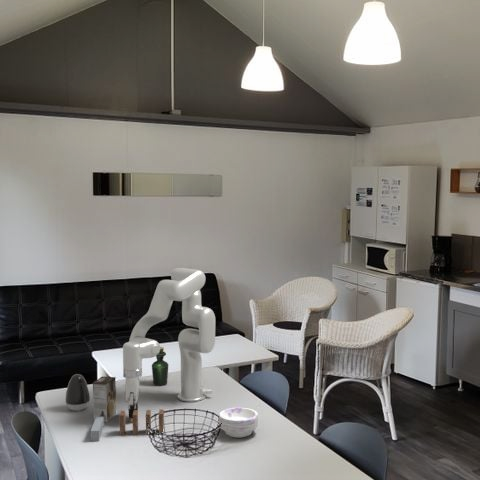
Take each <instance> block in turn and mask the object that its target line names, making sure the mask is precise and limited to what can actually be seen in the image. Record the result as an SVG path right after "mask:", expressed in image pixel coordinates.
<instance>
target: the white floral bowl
mask: <svg viewBox="0 0 480 480" xmlns="http://www.w3.org/2000/svg"><path fill="white" fill-rule="evenodd" d="M220 423H222V424H221V427H219V428H220V429H221V430H223V431H224V433H225V434H226V435H227V436H229V437H231V438H236V439H238V438H245V437H248V436H251V434H252V433H253V431H255V430H257V428H258V426H259V414H258V411H256V410H255V409H252V408H249V407H248V408H246V407H230V408H225V409H224V410H221V411H220V412H219V414H218V425H219V424H220Z"/></svg>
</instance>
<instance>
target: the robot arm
mask: <svg viewBox="0 0 480 480" xmlns="http://www.w3.org/2000/svg"><path fill="white" fill-rule="evenodd" d="M170 277H171V278H170V279H162V280H160V281H159V282H158V284H157V286H156V289H155V291H154V295H153V298H152V300H151V303H150V306H149V309H148V311H147V312H146V314H144V315H143V316H142V317H141V318H140V319H139V320H138V321H137V322H136V324H135V326H134V327H133V329H132V331H131V334H130V337H129V341H128V342H125V343H124V344H123V345H122V369H123V374H122V377H123V378H125V383H124V384H125V395H124V396H125V398H124V399H125V400H124V402H126V403H127V402H128V419H130V420H131V419H133V412H134V410H138V411H139V409H138V408H139V406H138V405H139V403H138V399H139V395H140V378H141V377H143V376H142V375H143V359H152V358H154V357H156V355H158V353H159V352H160V347H161V345H160V343H159V342H158V341H157V340H156V339H152V338H147V337H146V334H147V332H148V331H149V330H150V328H151V327H153V326H154V325H157V324H159V323H161V322H164V321H166V320H167V319H168V317H169V314H170V311H171V307H172V305H173V302H174V301H175V302H176V301H177V302H182V303H181V304H182V305H181V317H182V323H183V324H185V325H186V326H188V327H193V328H184V329H182V330H181V331H180V332H179V334H178V338H177V342H178V347H179V355H180V392H179V393H178V394H177V399H178V400H179V401H182V402H186V403H187V402H189V403H191V402H192V403H193V402H199V401H202V400H204V399H205V398H206V394H207V395H211V394H213V390H212V388H211V389H210V388H204V387H203V383H202V382H203V381H202V380H203V377H202V376H203V374H202V373H203V362H202V361H203V360H202V354H209V353H210V352H212V351H213V349H214V347H215V343H216V342H215V341H216V316H215V315H216V314H215V313H214V311H213V309H211V308H209V307H207V306H202V292H201V289H202V288H203V287H204V286H205V284H206V275H205V273H204V271H202V270H199V269H193V268H188V267H187V268H186V267H176V268H173V270H172V271H171V273H170ZM197 328H198V329H197ZM133 400H135V401H133ZM133 403H134V404H133Z"/></svg>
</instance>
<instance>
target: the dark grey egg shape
mask: <svg viewBox="0 0 480 480" xmlns="http://www.w3.org/2000/svg"><path fill="white" fill-rule="evenodd" d="M90 395H91V394H90V391H89V386H88V383H87V381H86V379H85V377H84V376H83V374H80V373H79V374H78V373H76V374H74V375H72V376H71V378H70V380H69V382H68V385H67V388H66V392H65V403H66V406H67V408H68V409H69V410H71V411H73V412H77V411H80V412H81V411H83V410H85V409H86V408H87V407H88V405H89V403H90V400H91V396H90Z"/></svg>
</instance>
